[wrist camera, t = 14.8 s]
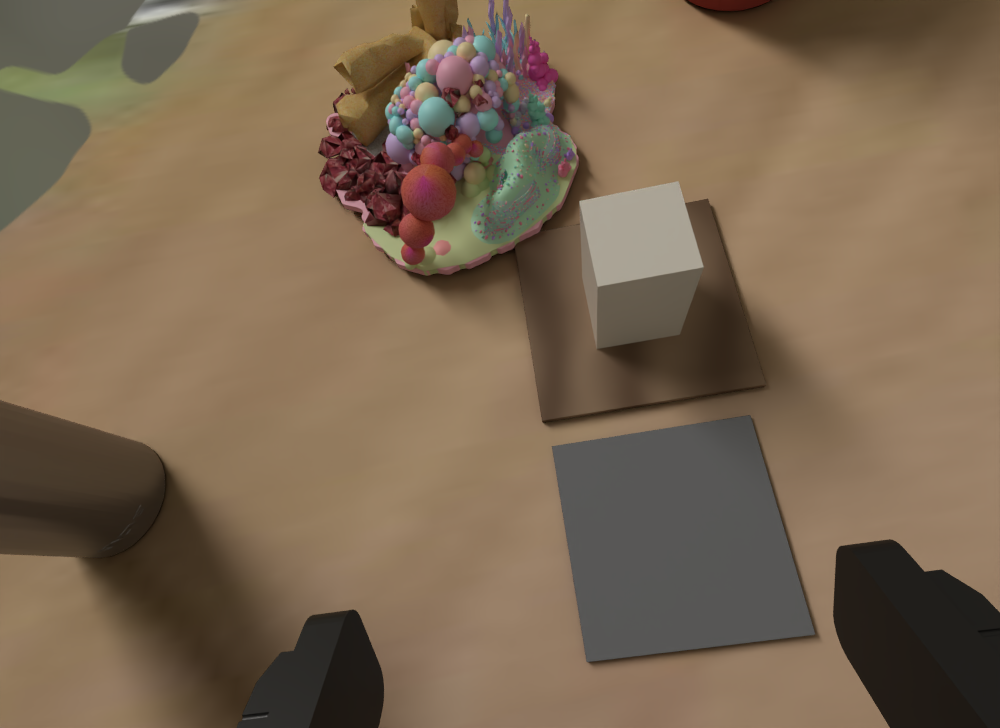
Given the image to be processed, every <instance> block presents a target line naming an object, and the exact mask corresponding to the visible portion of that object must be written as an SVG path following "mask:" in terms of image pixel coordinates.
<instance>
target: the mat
mask: <svg viewBox="0 0 1000 728" xmlns="http://www.w3.org/2000/svg"><path fill="white" fill-rule="evenodd" d="M552 449H553V456H554V462H555V468H556V474H557V480H558V487H559V493H560V499H561V505H562V512H563V518H564V524H565V530H566V536H567V543H568V549H569V555H570V561H571V567H572V574H573V580H574V586H575V592H576V598H577V605H578V611H579V617H580V623H581V630H582V636H583V642H584V648H585V654H586V661H587V662H591V661H600V660H608V659H616V658H625V657H633V656H641V655H650V654H658V653H666V652H675V651H683V650H691V649H700V648H708V647H716V646H725V645H733V644H741V643H750V642H758V641H766V640H775V639H783V638H791V637H800V636H808V635H815V632H814V628H813V625H812V622H811V618H810V615H809V611H808V608H807V605H806V601H805V598H804V595H803V591H802V588H801V585H800V581H799V578H798V574H797V571H796V568H795V564H794V561H793V558H792V554H791V551H790V547H789V544H788V541H787V537H786V534H785V531H784V527H783V524H782V521H781V517H780V514H779V510H778V507H777V504H776V500H775V497H774V494H773V490H772V487H771V483H770V480H769V477H768V473H767V470H766V467H765V463H764V460H763V456H762V453H761V450H760V446H759V443H758V440H757V436H756V433H755V430H754V426H753V423H752V419H751V416H750V415H748V416H742V417H735V418H729V419H723V420H716V421H710V422H704V423H697V424H691V425H685V426H678V427H672V428H666V429H659V430H653V431H647V432H640V433H634V434H628V435H621V436H615V437H609V438H602V439H596V440H590V441H583V442H577V443H571V444H564V445H558V446H552Z"/></svg>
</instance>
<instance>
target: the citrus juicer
mask: <svg viewBox="0 0 1000 728" xmlns="http://www.w3.org/2000/svg"><path fill="white" fill-rule="evenodd" d="M688 1H690V2H692V3H693V4H695V5H698V6H701V7H704V8H708V9H713V10H722V11H735V10H738V11H740V10H745V9H748V8H753V7H757V6H759V5H762V4H764V3H767V2H769V1H771V0H688Z"/></svg>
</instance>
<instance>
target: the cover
mask: <svg viewBox="0 0 1000 728" xmlns="http://www.w3.org/2000/svg"><path fill="white" fill-rule="evenodd" d="M579 206H580V232H581V258H582V279H583V284H584V289H585V294H586V299H587V304H588V309H589V314H590V318H591V323H592V328H593V333H594V338H595V343H596V348H597V349H600V348H606V347H612V346H617V345H623V344H629V343H635V342H641V341H646V340H652V339H658V338H664V337H669V336H675V335H680V333H681V330H682V327H683V324H684V321H685V319H686V316H687V313H688V310H689V307H690V304H691V302H692V299H693V296H694V293H695V290H696V287H697V285H698V282H699V279H700V276H701V273H702V271H703V268H704V267H703V263H702V260H701V256H700V253H699V250H698V246H697V243H696V239H695V236H694V233H693V229H692V226H691V222H690V219H689V216H688V212H687V209H686V205H685V202H684V199H683V195H682V192H681V188H680V185H679V182H673V183H668V184H663V185H658V186H653V187H648V188H643V189H638V190H633V191H628V192H623V193H617V194H612V195H607V196H602V197H597V198H592V199H587V200H582V201H579Z"/></svg>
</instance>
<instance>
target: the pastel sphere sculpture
mask: <svg viewBox="0 0 1000 728" xmlns="http://www.w3.org/2000/svg"><path fill="white" fill-rule="evenodd" d="M508 2H509V0H503V20H504V22H503V20H502V19H501V18H500V17H499V18H500V20H501V24H502V26H503V28H504V30H505V33H506V35H505V37H503V39H502V33H501V32H500V31H499V22H498V16H499V15H498V14H497V13H496V27H495V23H494V15H493V13H494V0H489V11H488V16H489V20H490V23H491V27H490V26H489V24H488V23H487V22H486V23H487V25H488V27H489V30H490V32H491V33H490V32H489V31H488V32H489V34H490V36H491V38H492V41H491V40H490V39H489V38H487V37H486V36H483V35H484V29H483V34H482V36H480V35H478V36H476V35H475V33H474V31H473V28H472V25H471V23H470V21H469V19H467V22H468V25H469V26H468V32H466V30H465V27H464V25H463V33H462V25H458V24H456V22H457V18H458V6H457V0H416V4H417V6H415V5H412V8H411V9H410V10H411V20H412V29H411V30H410V31H409V32H408V34H404V35H399V34H394V33H393V34H391V35H389V36H387V37H385V38H383V39H381V40H379V41H376V42H372V43H363V44H361V45H358V46H356V47H354V48H352V49H350V50H348V51H346V52H343V54H342V55H341V57H340V58H339V59H338V61H337V62H336V64H335V65H334V68H335V69H336V70H337V71H338V72H339V73H340V74H341V75H342V76H343V77H344V78H345V79H346V80H347V81H348V83H349V84H350V85H351V86H352V87H353V88H352V89H351V92H352V93H353V94H352V95H350V93H349V91H348V89H346V90H345V94H349V95H345V94H343V93H341V95H340V96H339V97H338V98H337V99H336V100H335V101H333V107H334V111H335V113H333V114H331V115H329V116H328V118H327V120H326V123H327V130H329V132H330V134H331V136H329V137H326V138H323V139H322V141H321V144H320V148H319V151H318V153H319V154H321V155H323V156H324V157H326V158H329V159H328V161H327V162H326V164H325V166H324V168H323V170H322V173H321V175H320V177H319V179H320V182H321V185H322V188H323V190H324V191H326V192H327V193H328V194H330V195H331V196H332V197H333V198H334V197H335V196H336V195H337V194H338V196H339V198H340V199H341V202H342V204H343V205H344V207H345V208H346V209H348V210H352V211H357V212H361V213H363V214H362V219H363V221H364V224H363V231H364V233H365V234H366V236H368V237H369V238H371V239H372V241H373V243H374V245H375V247H376V248H377V250H379V251H381V252H385V253H386V254H387V255H388V256H389V257H390V259H391V260H393V261H395V262H396V263H397V265H398V267H400V268H401V269H404V270H408V271H411V272H415V273H418V274H422V275H426V276H428V275H431V274H435V273H441V274H445V275H450V274H452V273H454V272H456V271H459V270H460V269H465V268H467V269H471V268H473V267H475V266H478V265H480V264H482V263H484V262H486V261H489V260H490V258H491V257H492V256H493V255H495V254H497V253H499V254H502V253H505V252H507V251H509V250H512V249H513V248H514V246H515V245H516V244H517V243H518V242H520V241H523V240H524V239H526V238H529V237H531V236H532V235H534V234H537V233H539V231H540V230H541V227H542V225H543V223H544V222H545V221H546V220H549V219H551V217H552V215H553V214H554V213H555V212H557V211H559V210H561V208H562V206H563V204H564V202H565V199H566V197H567V194H568V192H569V189H570V187H571V184H572V181H573V179H574V176H575V174H576V171H577V169H578V166H579V157H578V155H577V147H576V145H575V144H574V142H573V140H572V139H571V138H570V135H569V134H567V133H565V132H562V131H561V130H560V129H559V127H558V126H557V125H554V124H553V121H554V116H553V115H552V112H553V110H554V108H555V99H556V98H555V97H554V95H555V88H556V85H555V82H556V81H557V80H558V73H557V71H556V70H555V69H552V68H551V69H549V66H548V64H547V62H548V59H549V57H548V55H547V54H546V53H544V52H543V53H540V47H539V43H538V42H536V40H535V39H534V41H533V40H532V37H530V16H529V15H528V14H526V15H525V30H524V27H523V24H522V22H521V26H520V30H519V34H518V31H517V26H516V21H515V20H514V32H515V33H514V36H513V34H512V32H511V23H512V16H513V15H512V13H511V10H510V7H509V8H508ZM494 35H495V38H494ZM503 42H504V43H503ZM502 46H503V47H502ZM519 53H520V58H519V57H518V54H519ZM336 155H339V156H338V157H336V158H330V157H333V156H336Z"/></svg>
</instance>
